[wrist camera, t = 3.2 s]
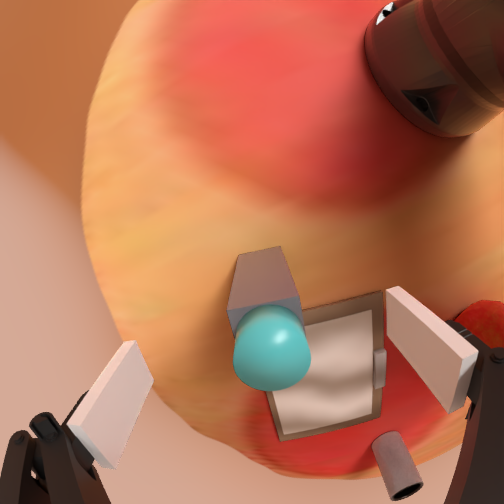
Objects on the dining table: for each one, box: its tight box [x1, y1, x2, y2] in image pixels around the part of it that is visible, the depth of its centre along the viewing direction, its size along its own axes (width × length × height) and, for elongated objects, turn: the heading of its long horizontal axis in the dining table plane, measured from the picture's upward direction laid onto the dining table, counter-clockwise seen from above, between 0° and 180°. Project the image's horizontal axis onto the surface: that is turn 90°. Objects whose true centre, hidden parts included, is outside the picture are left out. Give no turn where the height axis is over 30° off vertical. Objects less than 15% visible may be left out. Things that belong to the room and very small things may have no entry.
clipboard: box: [266, 291, 387, 442], centre depth 27 cm, size 18×13×1 cm
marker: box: [226, 246, 311, 391], centre depth 18 cm, size 4×4×14 cm
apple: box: [454, 300, 504, 349], centre depth 22 cm, size 10×10×10 cm
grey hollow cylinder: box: [372, 431, 423, 501], centre depth 26 cm, size 4×4×10 cm
